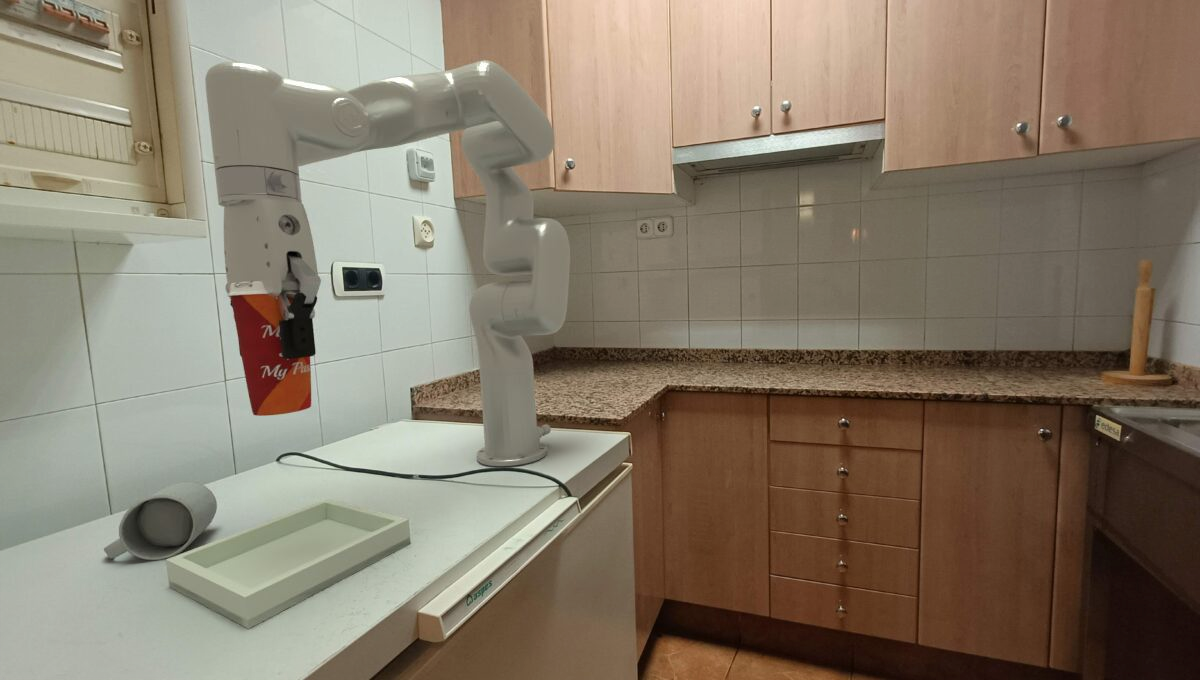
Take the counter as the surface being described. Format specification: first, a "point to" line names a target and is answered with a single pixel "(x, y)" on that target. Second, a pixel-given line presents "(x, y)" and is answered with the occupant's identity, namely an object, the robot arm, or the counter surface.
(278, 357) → the paper cup
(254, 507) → the counter surface
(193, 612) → the counter surface
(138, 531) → the ceramic mug
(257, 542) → the sage tray
